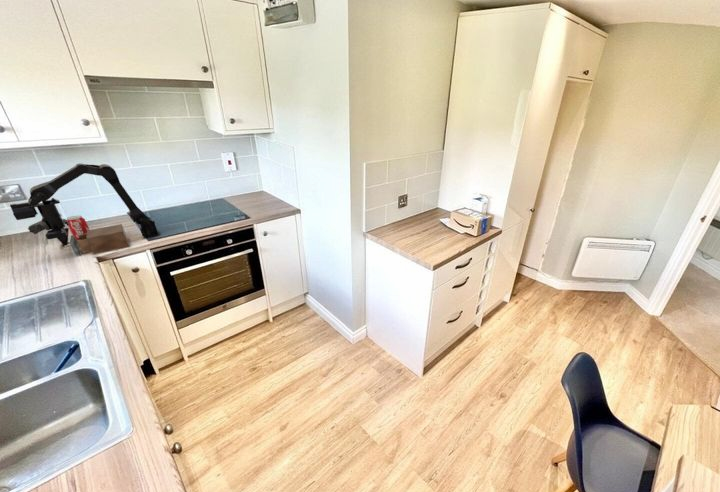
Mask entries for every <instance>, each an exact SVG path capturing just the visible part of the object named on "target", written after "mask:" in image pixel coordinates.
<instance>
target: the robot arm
mask: <svg viewBox="0 0 720 492" xmlns="http://www.w3.org/2000/svg"><path fill="white" fill-rule="evenodd" d="M85 174H86V175H93V176H99V177H102V178H103V179H104V180H105V181H106V182H107V183H108V184H110V186H111V187H112V188H113V190H114V191H115V193H116V194H117V195H118V197H119V198H120V199H121V200H122V202H123V203H124V205H125V206H126V208H127V209H128V212H126V214H127V215H128V216H129V217H130V220H131V221H132V222H133V223H136V224H137V225H139V226H140V228H139V231H140V233H141V235H142V237H143V238H144V239H148V238H152V237H158V236H159V235H160V234H159V232H158V229H157V225H156V221H155V220H154V219H152V218H151V216H148V215H147V214H146V213H144V211H142V210H141V209H140V207H138V206H137V204H136V203H135V202H134V200H133V199H132V197H131V196H130V195H129V193H128V192H127V190H126V189H125V188H124V186H123V184H121V182H120V178H119V175H118V174H117V172H116V169H114V167H112V166H111V165H109V164H104V163H103V164H100V165H99V164H87V163H86V164H85V163H77V164H75V165H74V166H73V167H70V168H69V169H67V170H66V171H65V172H63V173H61V174H59V175H57V176H56V177H54V178H52V179H50V180H49V181H45V182H43V183H39V184H36V185H34V186H32V187H31V188H30V189H29V194H30V197H29V198H28V199H27V202H21V203H11V204H9V207H10V208H11V211H12V214H13V216H14V218H15V220H16V221H21V220H27V219H32V218H36V216H37V215H39V214H40V216H41V220H39V221H37V222H35V223H32V224H30V225H29V226H28V227H27V230H28V231H29V233H31V234H33V235H37V234H39V233H40V232H43V231H44V230H45V231H46V233H45V237H46V240H53V239H57V240H58V241H59V242H60V244H61V243H62V244H63V245H64V246H69V244H68V242H69V231H70V229H69V227H68V225H69V222H68V220H67V218H62V214H61V213H60V212H59V209H58V207H57V204H58V205H59V204H61V202H60V201H61V200H59V199H56V198H54V197H53V196H54V195H55V194H56V193H57V192H58V191H59V190H60V189H61V188H62V187H65V186H66V185H68V184H70V183H71V182H73V181H74V180H76V179H77V178H79V177H81V176H82V175H85ZM38 212H39V213H38ZM66 226H67V227H66Z"/></svg>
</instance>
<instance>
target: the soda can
mask: <svg viewBox="0 0 720 492" xmlns="http://www.w3.org/2000/svg"><path fill="white" fill-rule="evenodd" d="M66 220H68V222H69V225H68V226H67V228H69V231H70V233H71V235H75V237H76V239H77V241H79V240H80V238H79V236H78V235H81V234H86V233H87V230H91V229H90V228H89V225H88V223H87V220H86V219H85V218H84V217H83V216H82V215H72V216H69V217H67V218H66Z"/></svg>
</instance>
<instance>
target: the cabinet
mask: <svg viewBox="0 0 720 492" xmlns="http://www.w3.org/2000/svg"><path fill="white" fill-rule="evenodd" d="M86 239H87V241H88V243H89V245H90V247H91V249H92V251H91V252H92V253H93V255H97V254H101V253H106V252H110V251H111V252H112V251H116V250H122V249H124V248H130V243H129V239H128V236H127V233H126V231H125V228H124V226H123V224H122V223H121V224H115V225H109V226H103V227H98V228H92V229H90V230H87V237H86Z"/></svg>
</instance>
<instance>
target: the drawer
mask: <svg viewBox="0 0 720 492" xmlns="http://www.w3.org/2000/svg"><path fill="white" fill-rule="evenodd" d="M78 236H79V238H80V240H77V239H76V237H75V235H72V234H71V235H70V239H69V241H68V245H66V246H64V245H63V244H62V243H61V242H60V244H59V249H60V250H65V249H66V248H71V249H72V251H73V252H74V254H75V256H76V257H77V256H81V255H80V254H81V252H82V254H86V253H91V252H93V251H92V249H91V247H90V245H89V243H88V241H87V239H86V237H87V233H86V234H81V235H78Z"/></svg>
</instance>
